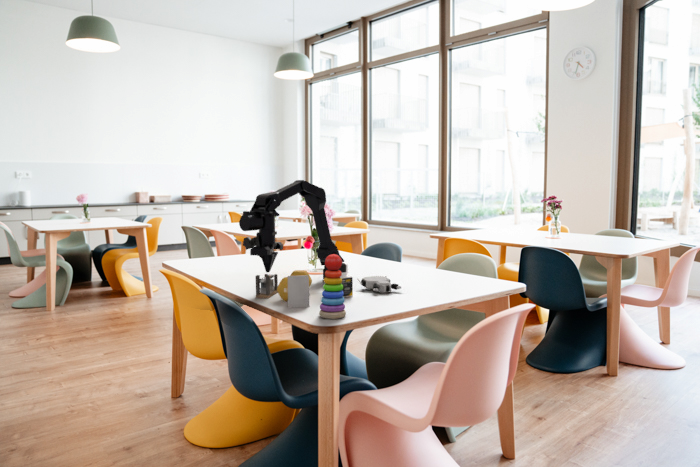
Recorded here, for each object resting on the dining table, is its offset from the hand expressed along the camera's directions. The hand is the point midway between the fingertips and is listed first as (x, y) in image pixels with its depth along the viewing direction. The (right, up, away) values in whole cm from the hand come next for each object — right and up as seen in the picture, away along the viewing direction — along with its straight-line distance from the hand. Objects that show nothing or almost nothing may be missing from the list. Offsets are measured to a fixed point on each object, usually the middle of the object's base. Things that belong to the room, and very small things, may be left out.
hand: (267, 272), depth 187 cm
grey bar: (0, -3, -1) cm, 3 cm away
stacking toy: (+24, -11, -32) cm, 42 cm away
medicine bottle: (+26, -8, -2) cm, 27 cm away
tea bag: (+13, -10, -18) cm, 24 cm away
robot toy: (+41, -8, +6) cm, 42 cm away
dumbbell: (+10, -9, -2) cm, 14 cm away
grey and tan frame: (0, -8, -1) cm, 8 cm away
